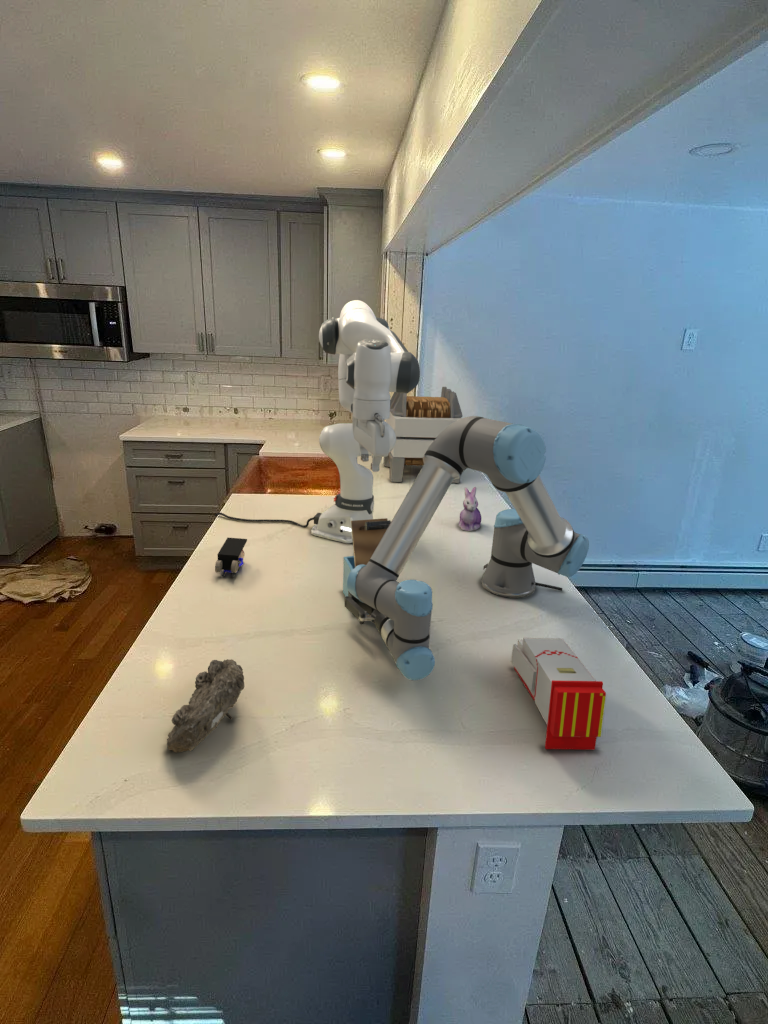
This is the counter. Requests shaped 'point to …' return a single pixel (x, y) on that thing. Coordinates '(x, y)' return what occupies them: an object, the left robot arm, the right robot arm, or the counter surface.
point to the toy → (561, 692)
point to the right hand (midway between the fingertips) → (369, 584)
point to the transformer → (418, 427)
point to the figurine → (470, 512)
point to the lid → (367, 538)
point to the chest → (347, 572)
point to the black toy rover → (230, 556)
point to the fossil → (206, 705)
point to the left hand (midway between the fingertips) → (369, 465)
